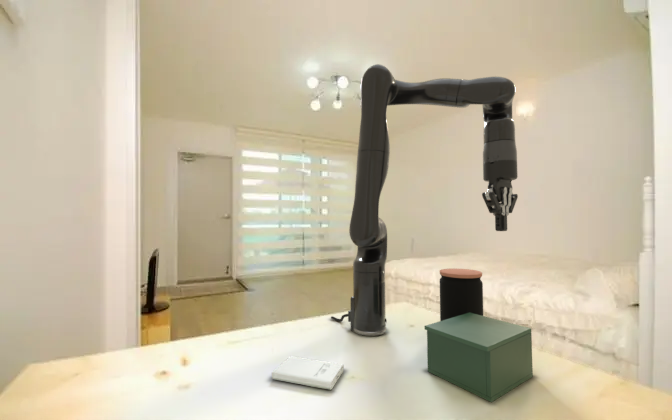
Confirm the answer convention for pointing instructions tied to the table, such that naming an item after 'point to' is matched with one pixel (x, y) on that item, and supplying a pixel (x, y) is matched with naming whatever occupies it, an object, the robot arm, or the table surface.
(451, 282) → the coffee jar
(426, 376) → the table surface
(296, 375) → the hard drive
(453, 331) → the green lid
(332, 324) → the table surface
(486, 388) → the green box
